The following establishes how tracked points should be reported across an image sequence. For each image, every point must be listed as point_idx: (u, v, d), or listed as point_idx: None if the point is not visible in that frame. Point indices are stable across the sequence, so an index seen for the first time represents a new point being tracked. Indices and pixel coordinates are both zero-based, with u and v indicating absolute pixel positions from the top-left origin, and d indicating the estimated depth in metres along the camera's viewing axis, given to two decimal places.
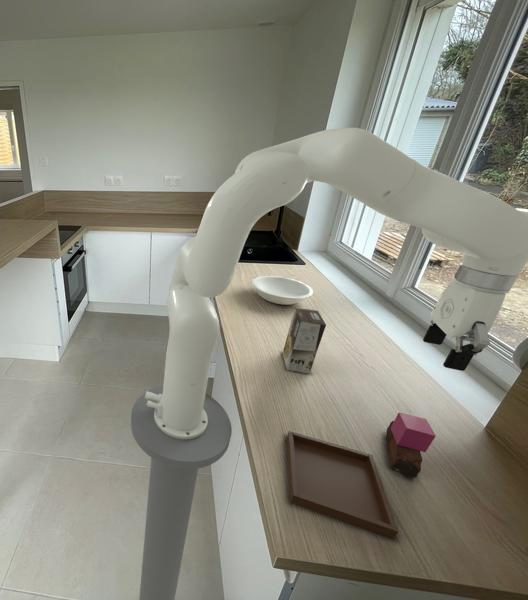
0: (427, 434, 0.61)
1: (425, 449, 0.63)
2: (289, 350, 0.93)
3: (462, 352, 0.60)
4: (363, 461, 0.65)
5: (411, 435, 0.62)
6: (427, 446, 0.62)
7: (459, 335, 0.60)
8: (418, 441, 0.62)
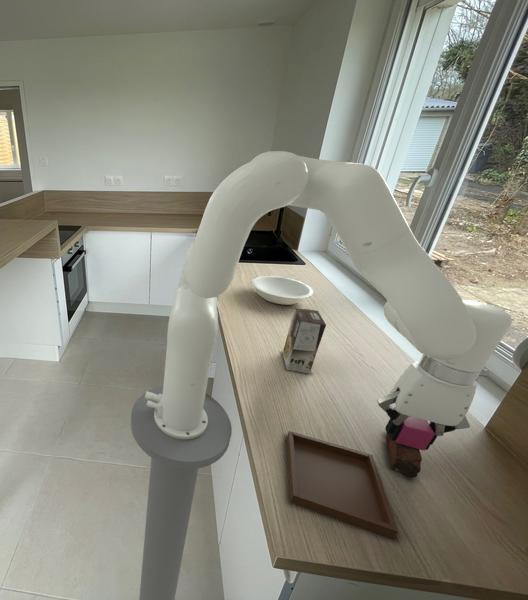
0: (426, 432, 0.61)
1: (424, 447, 0.63)
2: (289, 350, 0.93)
3: None
4: (363, 461, 0.65)
5: (410, 433, 0.62)
6: (426, 444, 0.62)
7: None
8: (417, 440, 0.62)
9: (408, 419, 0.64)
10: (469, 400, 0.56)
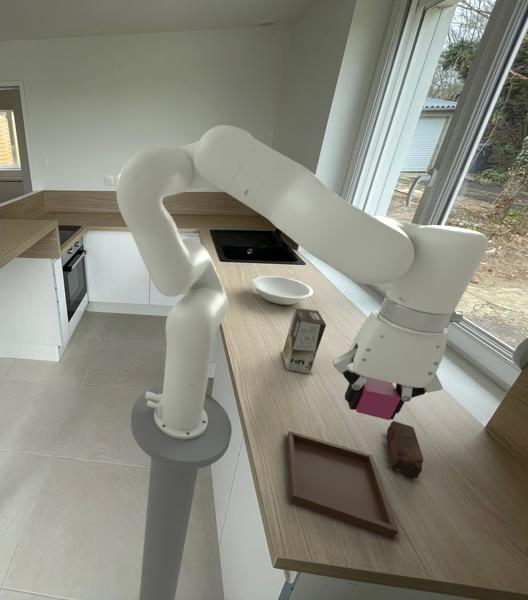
0: (390, 397, 0.50)
1: (389, 416, 0.51)
2: (289, 350, 0.93)
3: None
4: (363, 461, 0.65)
5: (372, 398, 0.51)
6: (391, 412, 0.51)
7: None
8: (380, 407, 0.51)
9: (370, 383, 0.53)
10: (439, 353, 0.45)
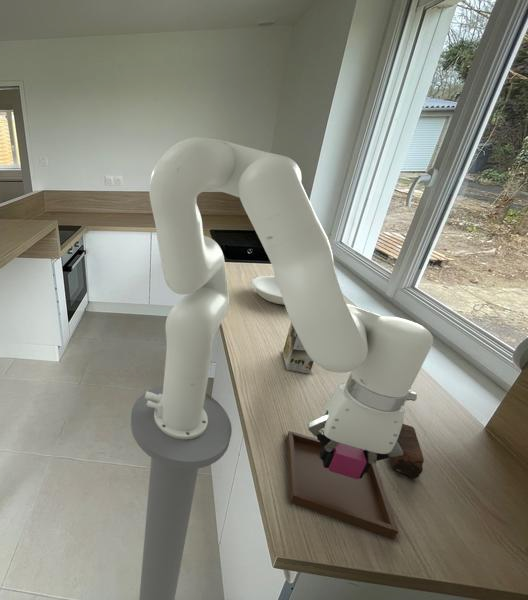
0: (358, 460, 0.56)
1: (357, 476, 0.57)
2: (289, 350, 0.93)
3: None
4: None
5: (342, 460, 0.57)
6: (359, 473, 0.57)
7: None
8: (349, 468, 0.57)
9: (341, 445, 0.58)
10: (397, 426, 0.51)
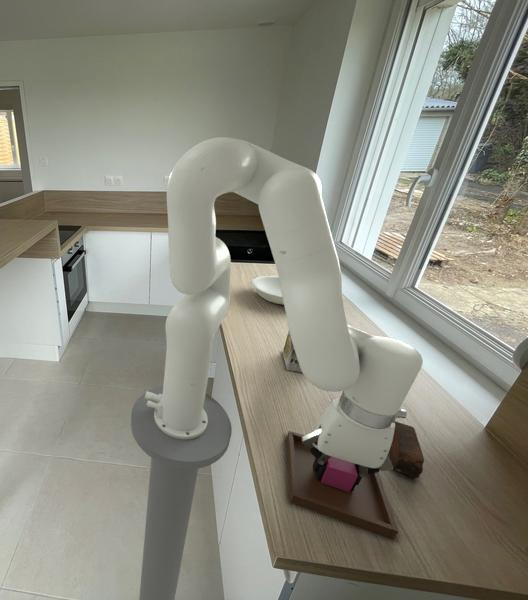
0: (349, 473, 0.57)
1: (349, 489, 0.59)
2: (289, 350, 0.93)
3: None
4: None
5: (334, 473, 0.59)
6: (350, 486, 0.58)
7: None
8: (341, 481, 0.59)
9: (333, 458, 0.60)
10: (388, 443, 0.53)
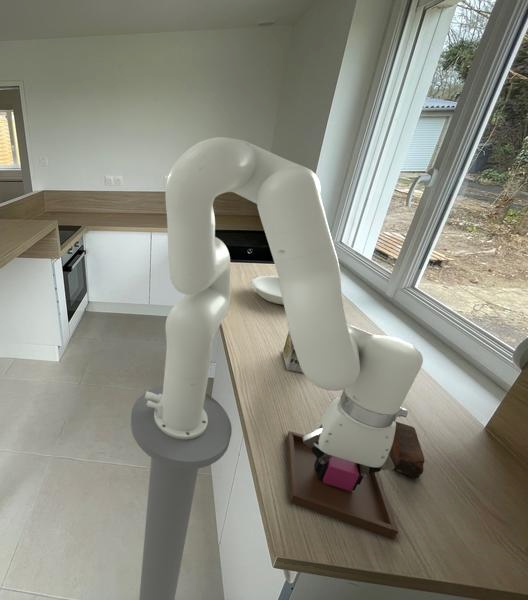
0: (351, 473, 0.57)
1: (350, 488, 0.58)
2: (289, 350, 0.93)
3: None
4: None
5: (335, 473, 0.58)
6: (352, 485, 0.58)
7: None
8: (342, 480, 0.58)
9: (334, 457, 0.60)
10: (389, 442, 0.52)
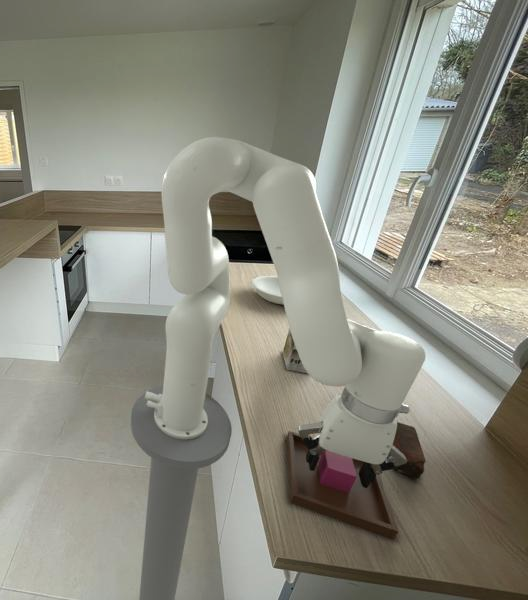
0: (348, 475, 0.58)
1: (348, 490, 0.59)
2: (289, 350, 0.93)
3: None
4: (363, 461, 0.65)
5: (333, 475, 0.59)
6: (349, 487, 0.58)
7: None
8: (340, 482, 0.59)
9: (332, 459, 0.60)
10: (390, 438, 0.52)
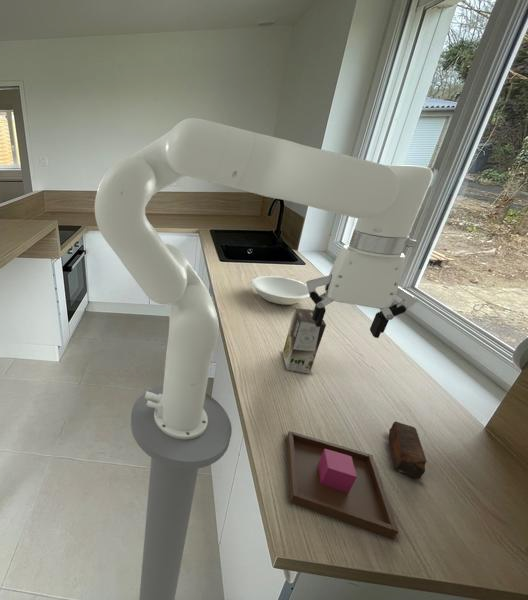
0: (348, 475, 0.58)
1: (348, 490, 0.59)
2: (289, 350, 0.93)
3: None
4: (363, 461, 0.65)
5: (333, 475, 0.59)
6: (349, 487, 0.58)
7: (325, 287, 0.62)
8: (340, 482, 0.59)
9: (332, 459, 0.60)
10: (398, 274, 0.54)
